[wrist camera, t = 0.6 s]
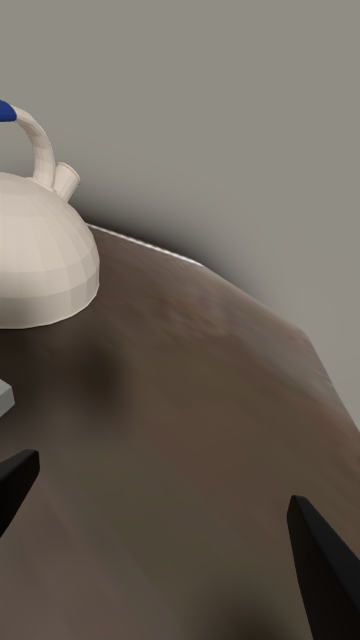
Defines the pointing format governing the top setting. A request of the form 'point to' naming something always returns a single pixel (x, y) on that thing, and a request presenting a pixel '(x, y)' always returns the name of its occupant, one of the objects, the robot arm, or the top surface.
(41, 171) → the kettle
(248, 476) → the top surface
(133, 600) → the top surface
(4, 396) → the wall
